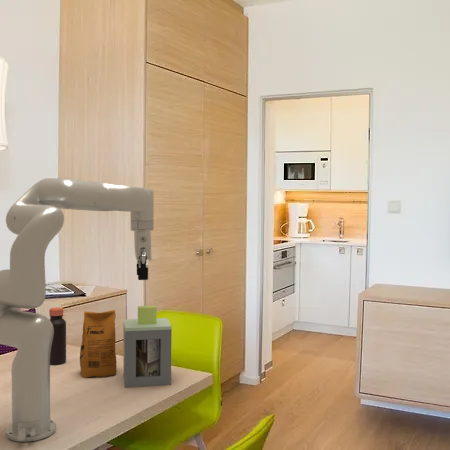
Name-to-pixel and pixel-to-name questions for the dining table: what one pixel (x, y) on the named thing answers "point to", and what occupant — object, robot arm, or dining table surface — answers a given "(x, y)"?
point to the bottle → (58, 337)
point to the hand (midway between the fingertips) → (142, 277)
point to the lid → (147, 320)
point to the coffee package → (98, 344)
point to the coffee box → (148, 357)
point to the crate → (130, 358)
